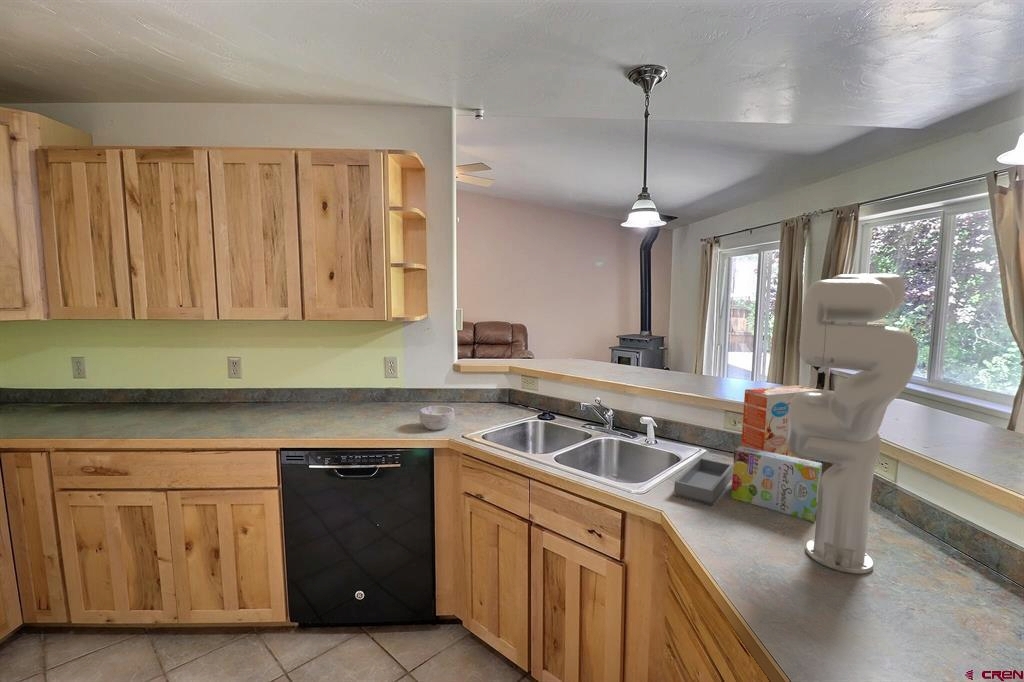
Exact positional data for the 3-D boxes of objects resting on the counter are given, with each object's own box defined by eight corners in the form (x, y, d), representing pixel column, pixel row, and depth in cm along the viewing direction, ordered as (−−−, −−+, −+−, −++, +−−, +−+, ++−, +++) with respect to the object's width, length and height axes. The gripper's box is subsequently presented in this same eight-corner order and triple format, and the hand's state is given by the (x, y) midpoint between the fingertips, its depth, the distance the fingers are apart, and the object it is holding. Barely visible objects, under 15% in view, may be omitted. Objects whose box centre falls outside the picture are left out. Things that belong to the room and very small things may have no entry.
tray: (711, 506, 131) (712, 491, 130) (673, 496, 137) (674, 481, 137) (732, 478, 151) (733, 464, 151) (698, 470, 158) (699, 457, 157)
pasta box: (760, 491, 141) (767, 395, 138) (739, 481, 149) (744, 389, 146) (813, 481, 149) (820, 390, 146) (790, 472, 157) (796, 385, 154)
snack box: (818, 516, 126) (823, 462, 125) (814, 523, 122) (819, 468, 120) (736, 492, 140) (739, 444, 139) (730, 498, 136) (733, 448, 135)
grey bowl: (451, 432, 197) (451, 414, 196) (416, 432, 197) (416, 413, 196) (456, 422, 212) (456, 405, 211) (423, 422, 212) (423, 405, 212)
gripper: (811, 323, 121) (806, 388, 123) (895, 326, 113) (888, 395, 115) (807, 322, 127) (803, 383, 129) (886, 324, 120) (880, 389, 122)
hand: (843, 388), depth 122 cm, fingers open, 9 cm apart
